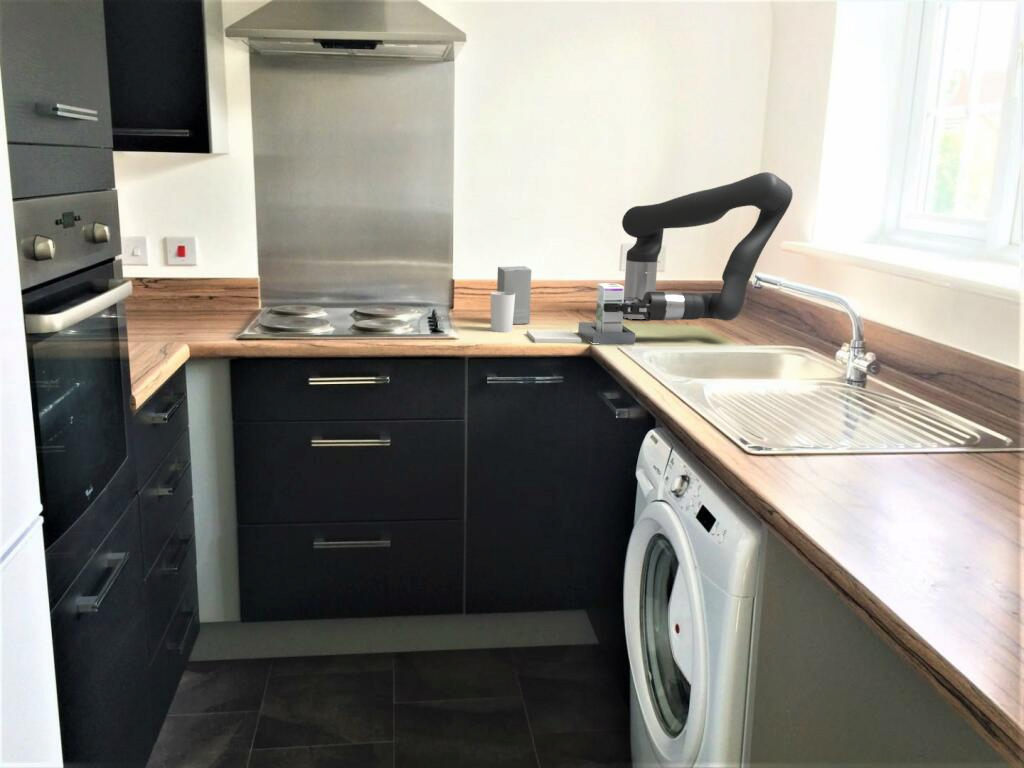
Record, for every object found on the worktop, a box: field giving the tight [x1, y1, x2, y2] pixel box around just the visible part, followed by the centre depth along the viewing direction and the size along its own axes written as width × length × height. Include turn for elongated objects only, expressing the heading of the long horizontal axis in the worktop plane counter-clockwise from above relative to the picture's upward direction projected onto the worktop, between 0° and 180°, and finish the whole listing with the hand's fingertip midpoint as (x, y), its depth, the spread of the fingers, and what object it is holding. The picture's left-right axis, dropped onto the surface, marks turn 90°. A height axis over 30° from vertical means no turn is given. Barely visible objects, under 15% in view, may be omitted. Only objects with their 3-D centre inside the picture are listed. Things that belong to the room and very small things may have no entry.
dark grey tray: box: [577, 321, 636, 344], centre depth 245 cm, size 16×11×4 cm
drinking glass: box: [490, 291, 515, 333], centre depth 251 cm, size 7×7×10 cm
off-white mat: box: [526, 329, 582, 344], centre depth 243 cm, size 12×12×1 cm
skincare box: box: [496, 265, 533, 325], centre depth 263 cm, size 8×7×16 cm
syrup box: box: [595, 282, 625, 332], centre depth 242 cm, size 6×6×14 cm
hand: (601, 305), depth 241 cm, fingers closed on syrup box, 6 cm apart
